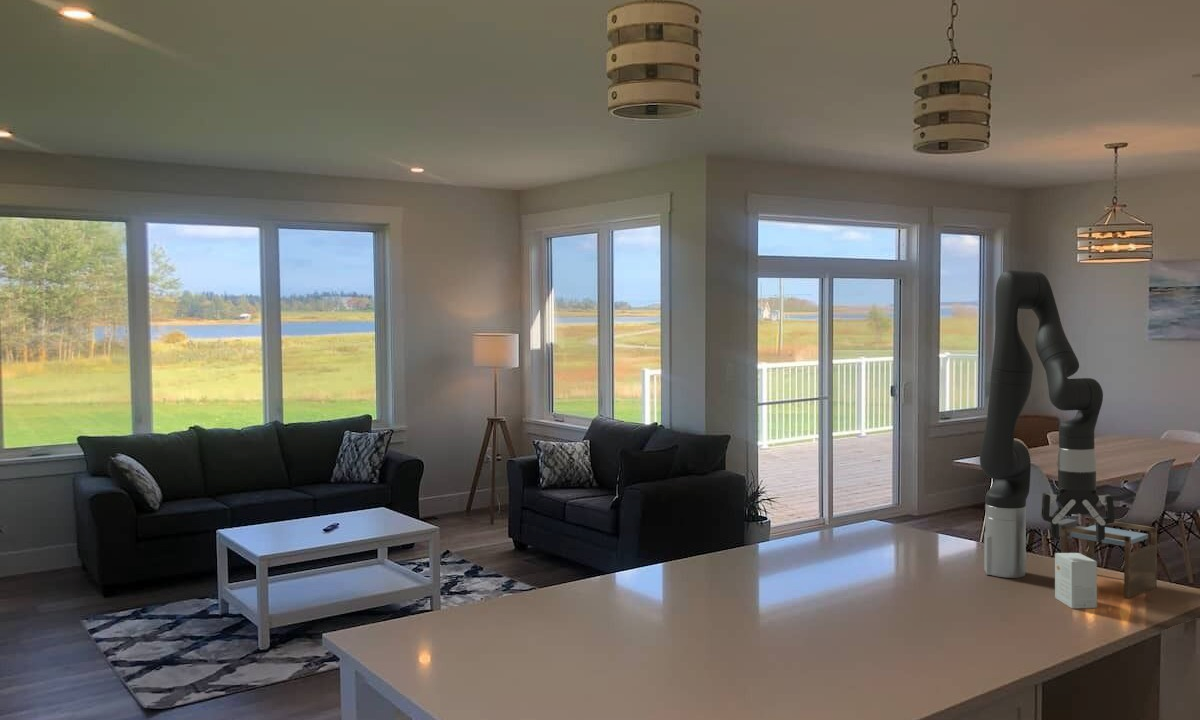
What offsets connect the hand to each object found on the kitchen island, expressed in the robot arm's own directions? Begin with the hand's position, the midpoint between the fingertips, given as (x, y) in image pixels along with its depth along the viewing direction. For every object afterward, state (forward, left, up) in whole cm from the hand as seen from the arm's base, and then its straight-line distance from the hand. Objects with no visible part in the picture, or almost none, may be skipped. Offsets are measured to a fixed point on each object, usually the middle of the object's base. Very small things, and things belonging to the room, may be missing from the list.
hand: (1077, 540), depth 204 cm
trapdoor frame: (+10, +17, -14) cm, 24 cm away
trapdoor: (+7, +19, -4) cm, 20 cm away
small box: (0, 0, -14) cm, 14 cm away
